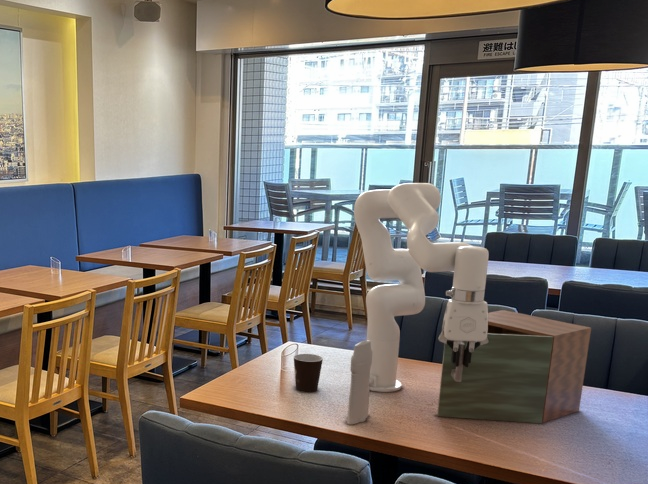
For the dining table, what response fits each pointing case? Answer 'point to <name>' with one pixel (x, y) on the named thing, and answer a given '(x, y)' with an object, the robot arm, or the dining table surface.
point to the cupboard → (552, 357)
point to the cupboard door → (497, 379)
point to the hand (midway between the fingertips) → (460, 365)
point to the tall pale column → (360, 382)
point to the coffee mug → (307, 372)
